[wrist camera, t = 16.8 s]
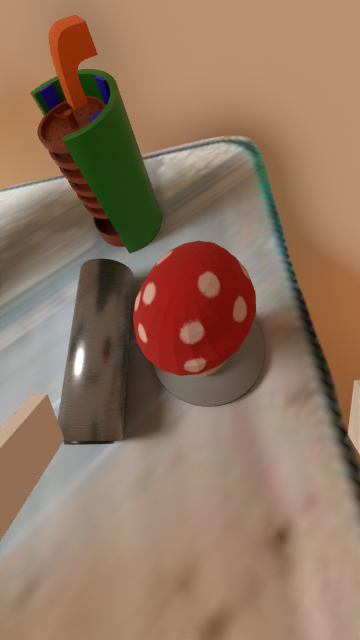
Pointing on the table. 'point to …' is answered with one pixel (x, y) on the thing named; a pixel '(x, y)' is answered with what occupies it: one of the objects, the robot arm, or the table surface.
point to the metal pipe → (97, 355)
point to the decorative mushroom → (194, 309)
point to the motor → (95, 141)
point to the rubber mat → (221, 375)
